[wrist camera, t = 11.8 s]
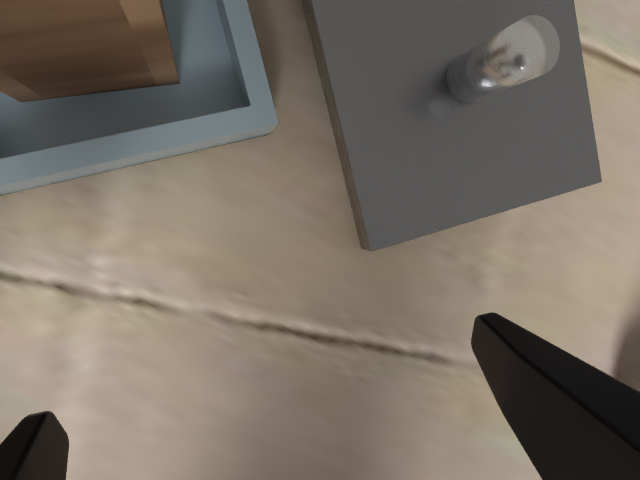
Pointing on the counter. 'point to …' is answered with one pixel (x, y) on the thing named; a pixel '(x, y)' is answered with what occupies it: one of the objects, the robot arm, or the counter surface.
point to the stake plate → (452, 108)
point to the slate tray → (147, 106)
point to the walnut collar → (83, 47)
